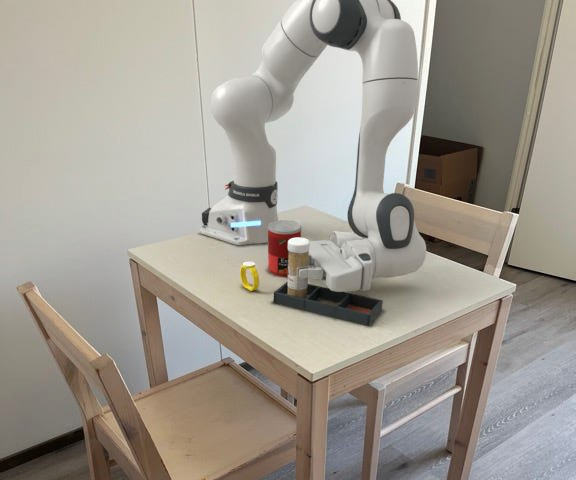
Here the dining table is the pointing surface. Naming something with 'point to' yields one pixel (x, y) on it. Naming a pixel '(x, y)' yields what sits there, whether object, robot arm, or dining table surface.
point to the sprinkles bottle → (297, 266)
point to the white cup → (344, 237)
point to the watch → (254, 273)
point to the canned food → (280, 245)
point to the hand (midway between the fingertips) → (294, 268)
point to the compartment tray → (339, 311)
